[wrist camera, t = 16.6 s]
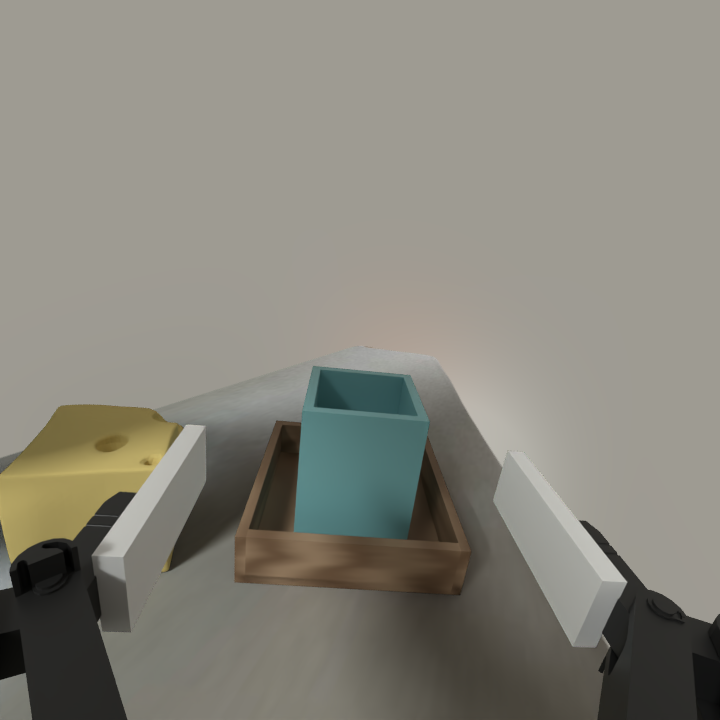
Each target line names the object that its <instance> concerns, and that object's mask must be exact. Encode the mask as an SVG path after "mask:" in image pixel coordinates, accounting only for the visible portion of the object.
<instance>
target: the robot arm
mask: <svg viewBox="0 0 720 720" xmlns="http://www.w3.org/2000/svg"><path fill="white" fill-rule="evenodd" d="M205 483H206V426H201V425H188V424H187V425H186V426H185V428H184V429H183V430H182V432H181V433H180V434H179V436H178V437H177V439H176V440H175V441H174V443H173V444H172V445H171V447H170V448H169V450H168V451H167V452H166V454H165V455H164V456H163V458H162V459H161V461H160V462H159V463H158V465H157V466H156V467H155V469H154V470H153V472H152V473H151V474H150V476H149V477H148V478H147V480H146V481H145V483H144V484H143V485H142V487H141V488H140V489H139V491H138V492H137V493H134V492H118V493H117V494H115V495H114V496H112V497H111V498H109V499H108V500H106V501H105V502H104V503H103V504H102V505H101V507H100V508H99V509H98V510H97V511H96V513H95V515H94V516H92V518H91V519H90V520H89V521H88V522H87V524H86V526H84V527H83V529H82V530H81V531H80V532H79V533H78V535H77V536H76V537H75V538H74V540H73V541H72V540H69V539H66V538H53V539H49V540H46V541H42V542H39V543H37V544H35V545H33V546H31V547H29V548H27V549H26V550H25V551H23V552H22V553H21V554H19V555H18V556H17V557H16V559H15V560H14V561H13V562H12V564H11V567H10V572H9V573H10V577H11V581H12V585H13V588H9V589H4V590H0V680H1V679H5V678H9V677H12V676H16V675H19V674H23V673H26V677H27V684H28V691H29V699H30V706H31V713H32V720H127V717H126V714H125V711H124V707H123V704H122V701H121V698H120V694H119V691H118V688H117V685H116V682H115V678H114V675H113V672H112V669H111V665H110V662H109V659H108V656H107V653H106V649H105V646H104V643H103V640H102V636H101V633H100V630H99V627H98V624H97V622H98V620H99V618H100V620H101V627H102V631H104V632H131V631H132V629H133V627H134V625H135V623H136V621H137V619H138V617H139V615H140V613H141V611H142V609H143V607H144V605H145V603H146V601H147V599H148V597H149V595H150V593H151V591H152V589H153V587H154V585H155V583H156V581H157V579H158V577H159V575H160V573H161V571H162V569H163V567H164V565H165V563H166V561H167V559H168V557H169V555H170V553H171V551H172V549H173V547H174V545H175V543H176V541H177V539H178V537H179V535H180V533H181V531H182V529H183V527H184V525H185V523H186V521H187V519H188V517H189V515H190V513H191V511H192V509H193V507H194V505H195V503H196V501H197V499H198V497H199V495H200V493H201V491H202V489H203V487H204V485H205ZM493 502H494V504H495V505H496V507H497V509H498V511H499V513H500V515H501V516H502V518H503V520H504V522H505V524H506V526H507V527H508V529H509V531H510V533H511V535H512V537H513V538H514V540H515V542H516V544H517V546H518V548H519V549H520V551H521V553H522V555H523V557H524V559H525V560H526V562H527V564H528V566H529V568H530V569H531V571H532V573H533V575H534V577H535V579H536V580H537V582H538V584H539V586H540V588H541V590H542V591H543V593H544V595H545V597H546V599H547V601H548V602H549V604H550V606H551V608H552V610H553V612H554V613H555V615H556V617H557V619H558V621H559V623H560V624H561V626H562V628H563V630H564V632H565V634H566V635H567V637H568V639H569V641H570V643H571V645H572V646H573V647H593V648H596V646H597V644H598V642H599V640H600V638H601V636H602V634H603V635H604V637H605V638H606V640H607V641H608V643H609V644H610V648H609V650H608V652H607V654H606V656H605V658H604V660H603V662H602V664H601V666H600V668H599V670H598V671H599V672H601V673H603V671H604V676H603V683H602V691H601V698H600V705H599V713H598V720H720V614H719V615H718V616H717V617H716V619H715V621H714V622H713V624H710V623H707V622H704V621H701V620H698V619H695V618H691V617H689V616H686V615H685V613H684V612H683V611H682V610H681V608H680V607H678V606H677V605H676V604H675V603H674V602H673V601H672V600H670V599H668V598H667V597H665V596H664V595H662V594H659V593H657V592H654V591H652V590H648V589H647V588H646V587H645V586H644V585H643V583H642V582H641V581H640V580H639V579H638V577H637V576H636V575H635V574H634V573H633V571H632V570H631V569H630V568H629V567H628V565H627V564H626V563H625V562H624V561H623V559H622V558H621V557H620V556H618V555H617V552H616V551H615V550H614V549H613V547H612V546H610V545H609V543H608V541H607V540H606V539H605V538H604V537H603V535H602V534H601V533H600V532H599V531H598V530H597V529H595V528H594V527H593V526H591V525H590V524H589V523H588V522H586V521H579V520H578V519H577V518H576V517H575V516H574V514H573V513H572V512H571V511H570V509H569V508H568V507H567V506H566V504H565V503H564V502H563V500H562V499H561V498H560V497H559V495H558V494H557V493H556V492H555V490H554V489H553V488H552V487H551V485H550V484H549V483H548V482H547V480H546V479H545V478H544V477H543V475H542V474H541V473H540V471H539V470H538V469H537V468H536V466H535V465H534V464H533V463H532V461H531V460H530V459H529V458H528V456H527V455H526V454H525V452H519V451H507V455H506V458H505V462H504V465H503V468H502V472H501V475H500V478H499V482H498V485H497V488H496V492H495V495H494V499H493Z"/></svg>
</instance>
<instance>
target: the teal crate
mask: <svg viewBox="0 0 720 720" xmlns="http://www.w3.org/2000/svg"><path fill="white" fill-rule="evenodd" d="M429 423H430V421H429V419H428V416H427V414H426V412H425V409H424V407H423V404H422V402H421V400H420V397H419V395H418V392H417V390H416V388H415V385H414V383H413V381H412V378H411V376H410V375H403V374H392V373H382V372H371V371H360V370H350V369H339V368H329V367H318V366H313V368H312V373H311V377H310V381H309V385H308V389H307V394H306V398H305V402H304V406H303V410H302V423H301V437H300V451H299V465H298V479H297V493H296V507H295V521H294V532H298V533H314V534H329V535H344V536H359V537H374V538H389V539H405V540H407V538H408V532H409V527H410V522H411V517H412V512H413V506H414V501H415V496H416V491H417V486H418V481H419V475H420V470H421V465H422V460H423V455H424V449H425V444H426V439H427V434H428V429H429Z"/></svg>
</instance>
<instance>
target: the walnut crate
mask: <svg viewBox="0 0 720 720" xmlns="http://www.w3.org/2000/svg"><path fill="white" fill-rule="evenodd" d="M300 437H301V423H299V422H287V421H276V423H275V426H274V429H273V432H272V435H271V437H270V440H269V443H268V446H267V448H266V451H265V454H264V457H263V460H262V462H261V465H260V468H259V471H258V474H257V476H256V479H255V482H254V485H253V488H252V490H251V493H250V496H249V499H248V502H247V504H246V507H245V510H244V513H243V516H242V518H241V521H240V524H239V527H238V529H237V532H236V535H235V582H240V583H257V584H275V585H293V586H310V587H328V588H345V589H363V590H381V591H398V592H416V593H434V594H451V595H460V593H461V589H462V585H463V582H464V578H465V574H466V570H467V567H468V563H469V559H470V555H471V549H470V547H469V544H468V541H467V539H466V536H465V534H464V531H463V528H462V526H461V523H460V520H459V518H458V515H457V512H456V510H455V507H454V505H453V502H452V499H451V497H450V494H449V491H448V489H447V486H446V484H445V481H444V478H443V476H442V473H441V470H440V468H439V465H438V462H437V460H436V457H435V455H434V452H433V449H432V447H431V444H430V441H429V439H428V436H427V439H426V444H425V449H424V455H423V460H422V465H421V470H420V475H419V481H418V486H417V491H416V496H415V501H414V506H413V512H412V517H411V522H410V527H409V532H408V538H407V540H405V539H389V538H374V537H359V536H344V535H329V534H314V533H298V532H294V521H295V507H296V493H297V479H298V465H299V451H300Z"/></svg>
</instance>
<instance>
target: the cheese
mask: <svg viewBox="0 0 720 720" xmlns="http://www.w3.org/2000/svg"><path fill="white" fill-rule="evenodd" d="M183 429H184V428H183V427H182V426H180V425H178V424H177V423H169V422H167V421H165V420H164V419H163V418H162V416H160V415H159V414H158V413H157V412H156V411H154V410H152V409H149V408H138V407H119V406H107V405H65V406H60V407H58V409H57V410H56V412H55V413H54V414H53V416H52V417H51V419H50V420H49V422H48V423H47V425H46V426H45V427H44V428H43V430H42V431H41V432H40V433H39V434H38V435H37V436H36V437H35V439H34V440H33V441H32V442H31V443H30V444H29V445H28V446H27V448H26V449H25V450H24V451H23V452H22V453H21V454H20V455H19V456H18V457H17V458H16V459H15V460H14V461H13V462H12V463H11V464H10V465H9V466H8V467H7V468H6V469H5V470H4V471H3V472H2V473H1V474H0V520H1V525H2V530H3V534H4V539H5V543H6V547H7V551H8V554H9V558H10V561H11V564H12V562H13V561H14V560H15V559H16V557H17V556H18V555H19V554H21V553H22V552H23V551H25V550H26V549H27V548H29V547H31V546H33V545H35V544H37V543H39V542H42V541H46V540H49V539H53V538H66V539H69V540H72V541H73V540H74V538H75V537H76V536H77V535H78V533H79V532H80V531H81V530H82V529H83V527H84V526H86V524H87V522H88V521H89V520H90V519H91V518H92V516H94V515H95V513H96V511H97V510H98V509H99V508H100V507H101V505H102V504H103V503H104V502H105V501H106V500H108V499H109V498H111V497H112V496H114V495H115V494H117V493H118V492H134V493H137V492H138V491H139V489H140V488H141V487H142V485H143V484H144V483H145V481H146V480H147V478H148V477H149V476H150V474H151V473H152V472H153V470H154V469H155V467H156V466H157V465H158V463H159V462H160V461H161V459H162V458H163V456H164V455H165V454H166V452H167V451H168V450H169V448H170V447H171V445H172V444H173V443H174V441H175V440H176V439H177V437H178V436H179V434H180V433H181V432H182V430H183ZM173 549H174V547H173ZM173 549H172V551H171V553H170V555H169V557H168V559H167V561H166V563H165V565H164V567H163V569H162V571H161V572H166V571H168V570H169V567H170V563H171V559H172V554H173Z"/></svg>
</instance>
